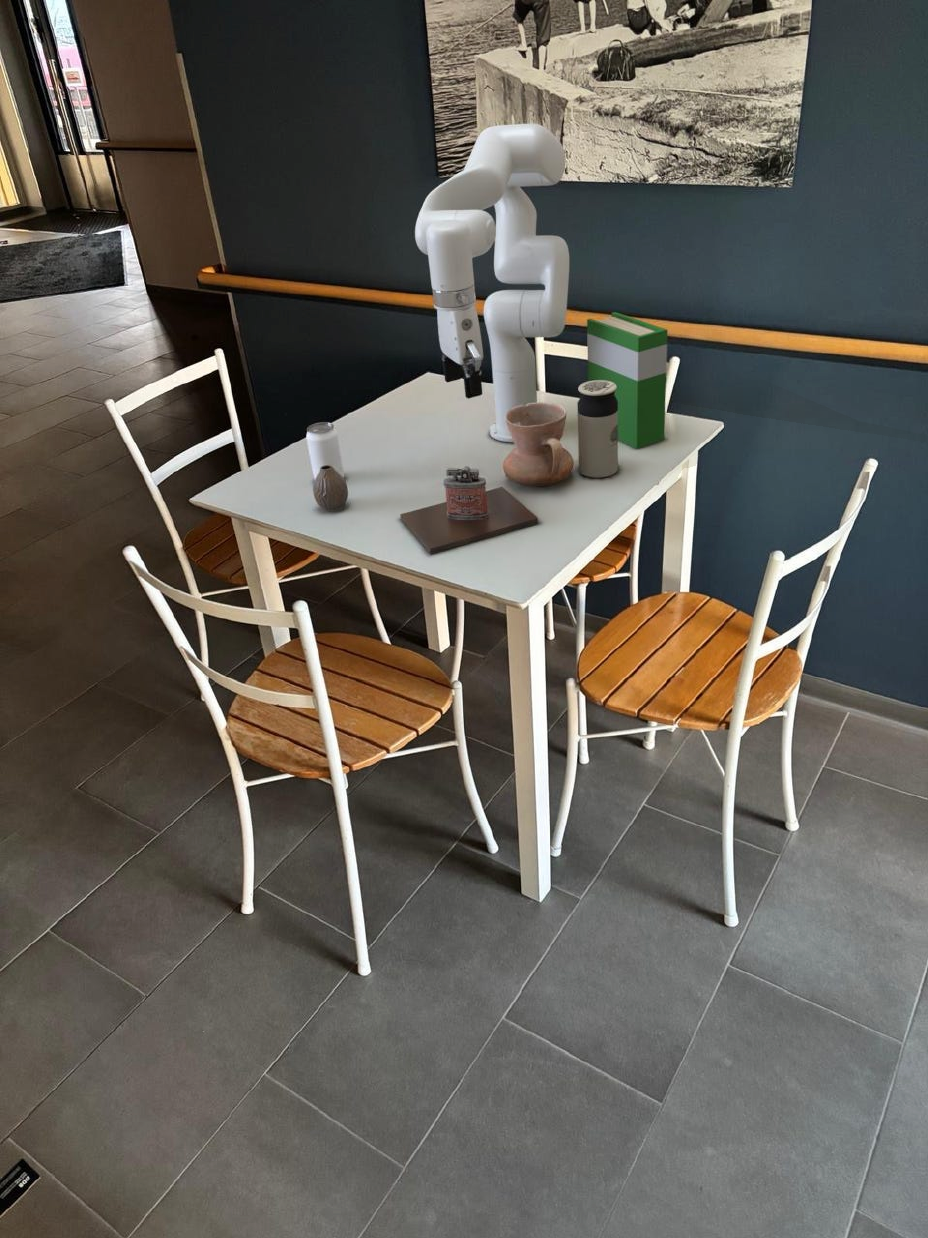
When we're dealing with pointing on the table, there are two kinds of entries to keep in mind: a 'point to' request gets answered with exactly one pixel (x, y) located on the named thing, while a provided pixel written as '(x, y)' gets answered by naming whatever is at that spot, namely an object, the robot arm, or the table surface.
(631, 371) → the hardback book
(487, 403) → the table surface
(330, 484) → the vase
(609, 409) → the travel mug
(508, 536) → the table surface
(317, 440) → the can
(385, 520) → the table surface
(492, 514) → the walnut board
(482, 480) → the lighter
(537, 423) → the ceramic jug
